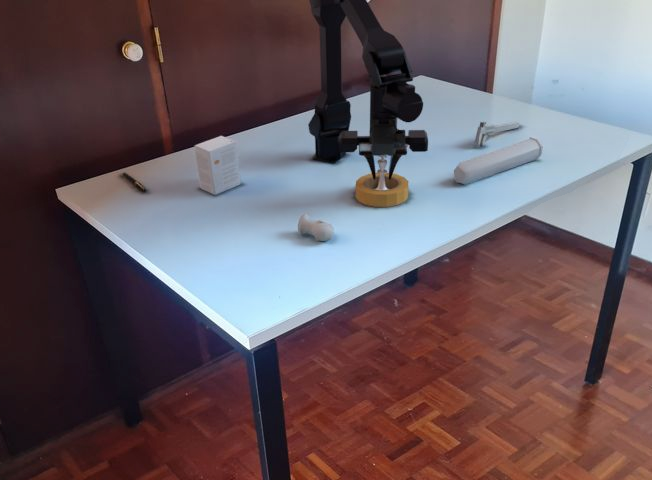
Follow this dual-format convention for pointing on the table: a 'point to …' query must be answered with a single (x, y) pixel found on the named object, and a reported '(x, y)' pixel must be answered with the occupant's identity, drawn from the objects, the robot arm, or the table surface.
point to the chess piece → (382, 173)
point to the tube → (498, 161)
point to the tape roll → (382, 198)
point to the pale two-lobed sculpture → (315, 228)
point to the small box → (218, 164)
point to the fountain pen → (134, 182)
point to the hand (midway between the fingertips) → (382, 179)
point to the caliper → (491, 131)
